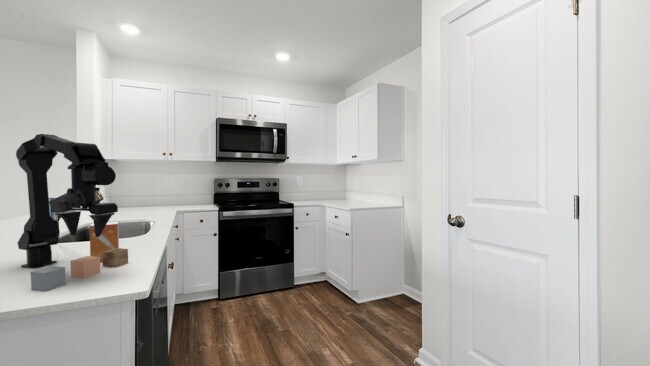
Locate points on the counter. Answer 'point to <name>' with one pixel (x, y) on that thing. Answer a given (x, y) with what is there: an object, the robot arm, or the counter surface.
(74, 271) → the terracotta cube
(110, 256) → the walnut cube
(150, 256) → the counter surface
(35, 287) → the slate cube
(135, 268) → the counter surface
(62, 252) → the counter surface
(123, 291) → the counter surface
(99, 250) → the small box
